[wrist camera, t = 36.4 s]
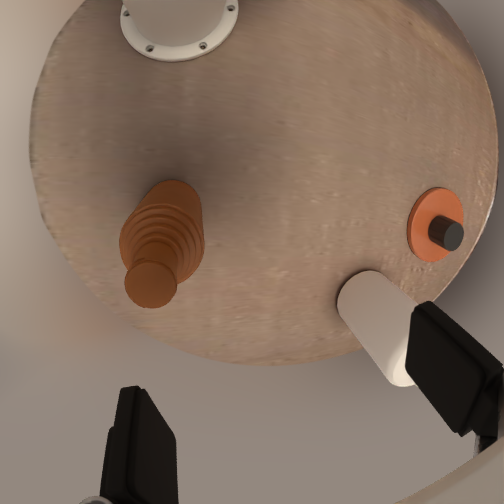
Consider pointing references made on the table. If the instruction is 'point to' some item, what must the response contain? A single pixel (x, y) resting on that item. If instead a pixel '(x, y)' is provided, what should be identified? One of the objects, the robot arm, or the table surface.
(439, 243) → the cap
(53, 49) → the table surface
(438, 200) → the orange round coaster
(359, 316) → the potion bottle
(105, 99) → the table surface
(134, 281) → the sauce bottle
